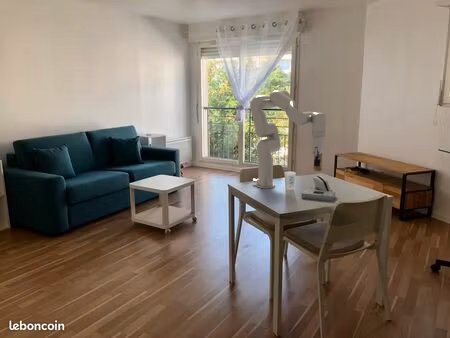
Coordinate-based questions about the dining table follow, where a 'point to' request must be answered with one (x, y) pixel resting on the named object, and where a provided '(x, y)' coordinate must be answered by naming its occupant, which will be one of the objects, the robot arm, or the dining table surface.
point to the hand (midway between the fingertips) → (317, 164)
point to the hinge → (321, 183)
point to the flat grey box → (318, 195)
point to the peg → (319, 168)
